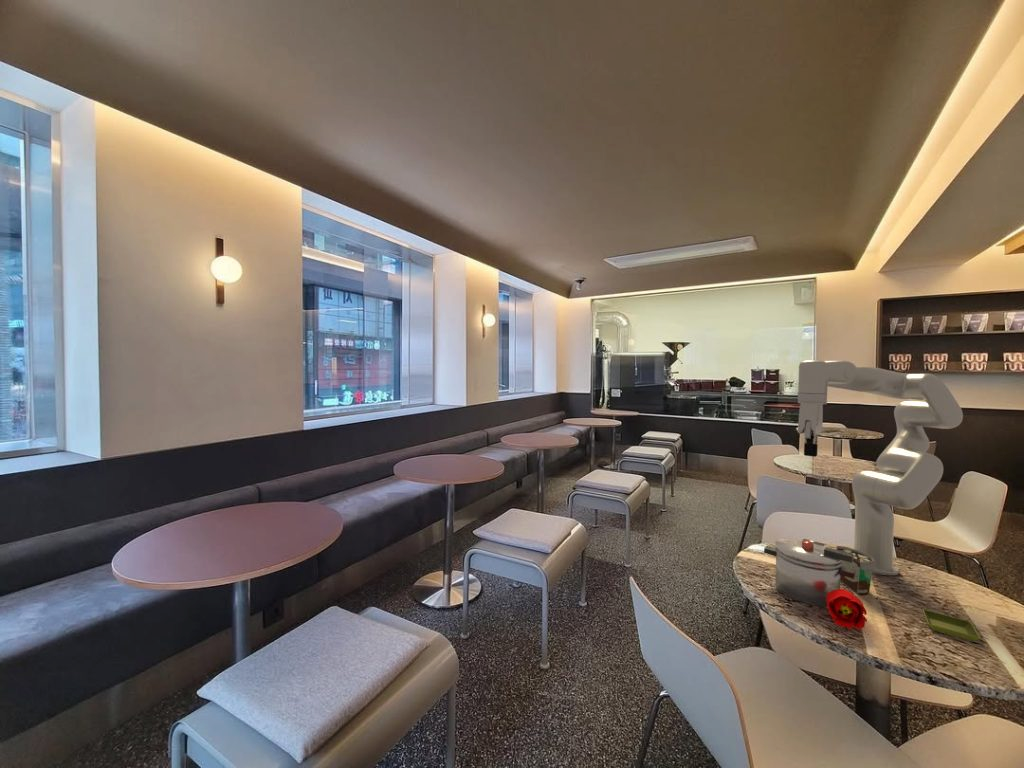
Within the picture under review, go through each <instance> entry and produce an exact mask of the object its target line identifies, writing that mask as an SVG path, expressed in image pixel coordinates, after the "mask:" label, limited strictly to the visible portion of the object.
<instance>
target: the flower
mask: <svg viewBox="0 0 1024 768" xmlns="http://www.w3.org/2000/svg"><path fill="white" fill-rule="evenodd" d="M826 602H827V607H826V608H827V611H828V613H829V615H830V617H832V621H833V622H834V624H836V625H837V626H839V627H844V628H847V629H850V630H851V629H852V628H855V629H857V630H862V629H863V628H865V626H866V622H867V620H868V619H867V617H866V615H867V614H868V613H867V609H866V608H865V606H864V603H863V601H862V600H861V599H860V598H859V597H857V595H856V594H855V593H852V591H849V590H847V589H844V588H840V589H837V590H833V591H830V592H829V593H828V594H827V595H826Z"/></svg>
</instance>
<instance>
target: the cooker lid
mask: <svg viewBox="0 0 1024 768" xmlns="http://www.w3.org/2000/svg"><path fill="white" fill-rule="evenodd" d="M774 544H775V545H774V548H776V549H777V550H778V551H779V552H780V553H782V554H784V555H786V556H788V557H791V558H793V559H796V560H799V561H803V562H807V563H811V564H817V565H825V566H836V565H840V564H842V560H843V561H847V562H851V563H852V562H853V559H854V554H852V553H848V552H844V551H840V550H836V548H831V547H829V546H826V545H825V543H821V542H819V541H814V540H810V539H806V538H803V539H796V538H779V539H777V540H775V543H774Z"/></svg>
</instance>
